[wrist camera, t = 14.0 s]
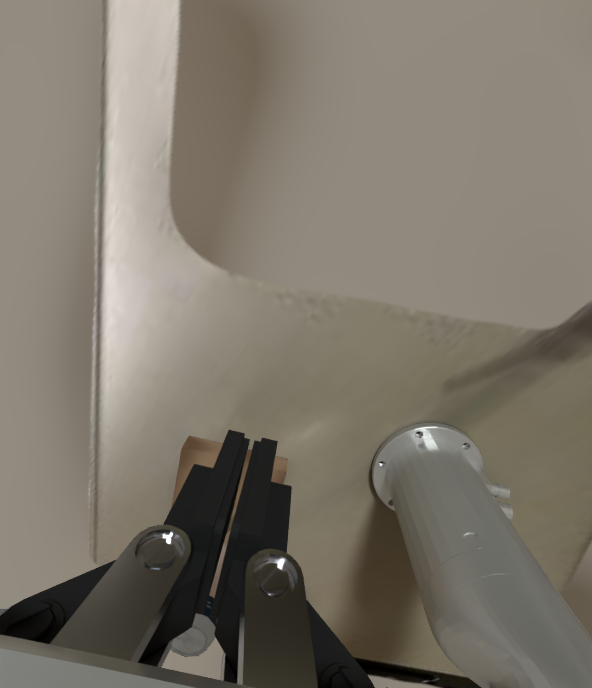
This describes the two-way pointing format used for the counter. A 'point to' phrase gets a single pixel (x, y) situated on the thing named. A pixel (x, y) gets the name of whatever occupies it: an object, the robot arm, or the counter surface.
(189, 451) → the board
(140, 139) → the counter surface
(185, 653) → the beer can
